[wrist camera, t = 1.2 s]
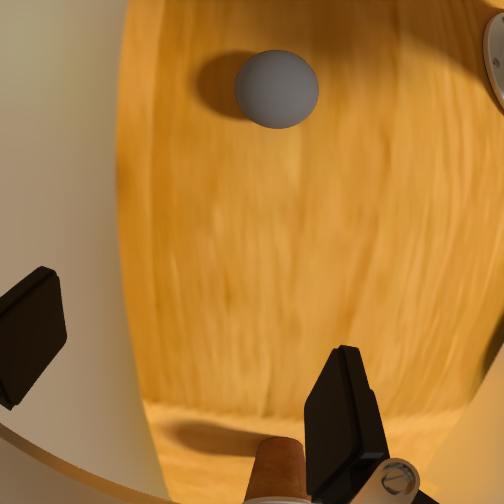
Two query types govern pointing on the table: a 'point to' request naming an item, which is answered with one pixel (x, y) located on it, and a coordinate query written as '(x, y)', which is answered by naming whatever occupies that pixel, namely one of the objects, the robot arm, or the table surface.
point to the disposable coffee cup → (278, 474)
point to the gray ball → (276, 89)
